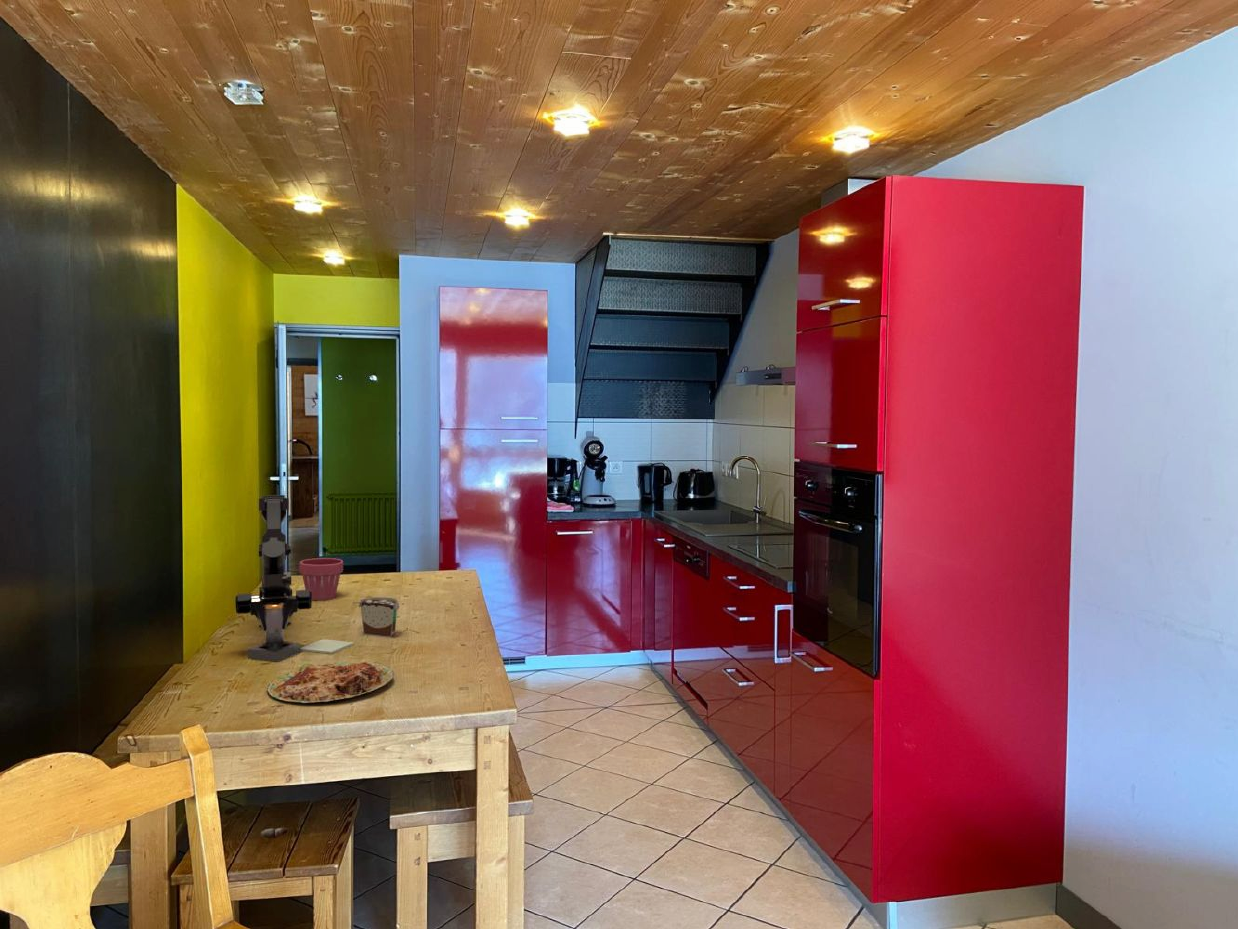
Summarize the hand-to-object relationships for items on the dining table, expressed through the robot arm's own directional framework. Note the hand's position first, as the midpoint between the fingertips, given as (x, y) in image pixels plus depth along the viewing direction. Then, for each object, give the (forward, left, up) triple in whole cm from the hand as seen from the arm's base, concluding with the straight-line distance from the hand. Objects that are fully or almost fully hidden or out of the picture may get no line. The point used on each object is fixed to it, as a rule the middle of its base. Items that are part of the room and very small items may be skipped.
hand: (274, 629), depth 222 cm
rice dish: (+29, -16, -8) cm, 33 cm away
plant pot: (-32, +63, -7) cm, 72 cm away
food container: (+14, +29, -7) cm, 33 cm away
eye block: (0, +1, -7) cm, 7 cm away
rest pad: (+8, +12, -7) cm, 16 cm away
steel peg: (0, +1, -7) cm, 7 cm away
